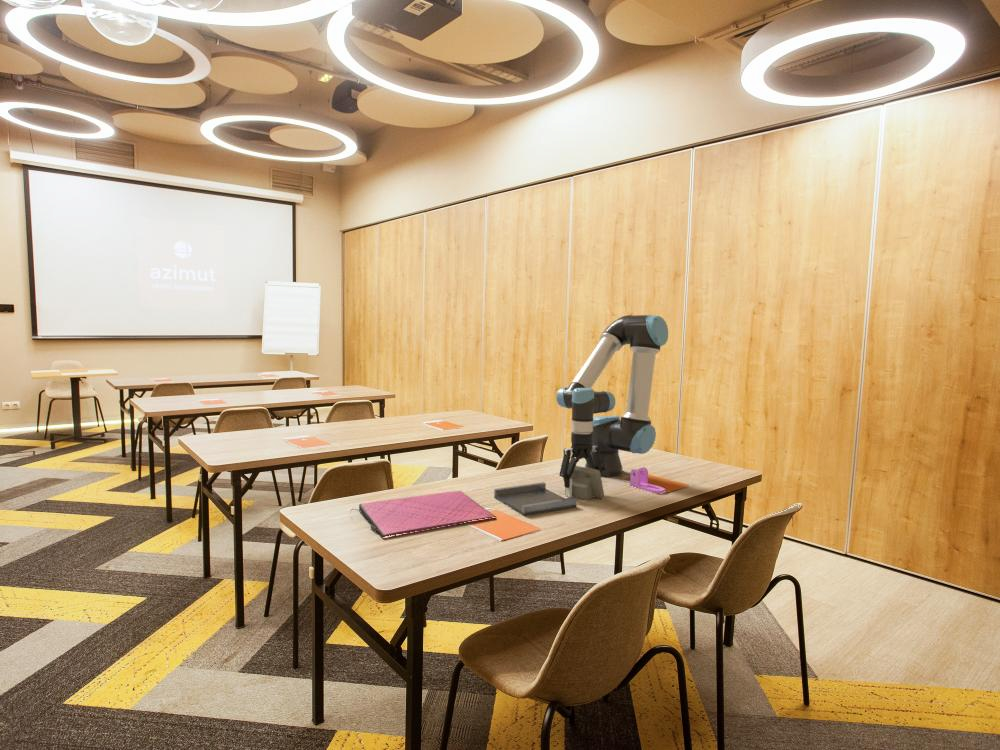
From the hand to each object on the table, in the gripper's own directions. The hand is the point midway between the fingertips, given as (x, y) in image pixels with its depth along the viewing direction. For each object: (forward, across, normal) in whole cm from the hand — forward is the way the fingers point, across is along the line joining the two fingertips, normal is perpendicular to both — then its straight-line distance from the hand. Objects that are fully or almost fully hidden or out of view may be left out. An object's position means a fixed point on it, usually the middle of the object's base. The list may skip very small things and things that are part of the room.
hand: (580, 494), depth 200 cm
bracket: (+1, -27, +5) cm, 28 cm away
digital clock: (+1, -1, 0) cm, 1 cm away
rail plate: (0, +19, 0) cm, 19 cm away
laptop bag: (+1, +58, -4) cm, 58 cm away
